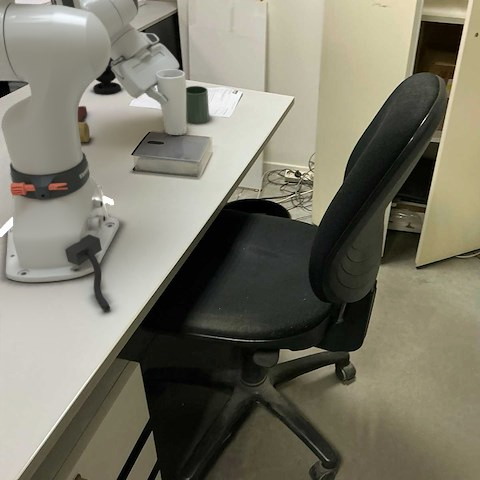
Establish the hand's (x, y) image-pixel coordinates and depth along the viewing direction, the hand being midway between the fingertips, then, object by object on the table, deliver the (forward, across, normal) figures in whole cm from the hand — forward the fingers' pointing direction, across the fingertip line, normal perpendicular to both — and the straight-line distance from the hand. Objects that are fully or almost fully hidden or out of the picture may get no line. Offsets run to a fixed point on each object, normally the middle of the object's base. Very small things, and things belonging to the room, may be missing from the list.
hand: (173, 97), depth 133 cm
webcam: (-15, +20, +28) cm, 38 cm away
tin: (+8, +10, +5) cm, 13 cm away
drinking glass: (+6, 0, +7) cm, 9 cm away
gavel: (-11, -6, +24) cm, 27 cm away
